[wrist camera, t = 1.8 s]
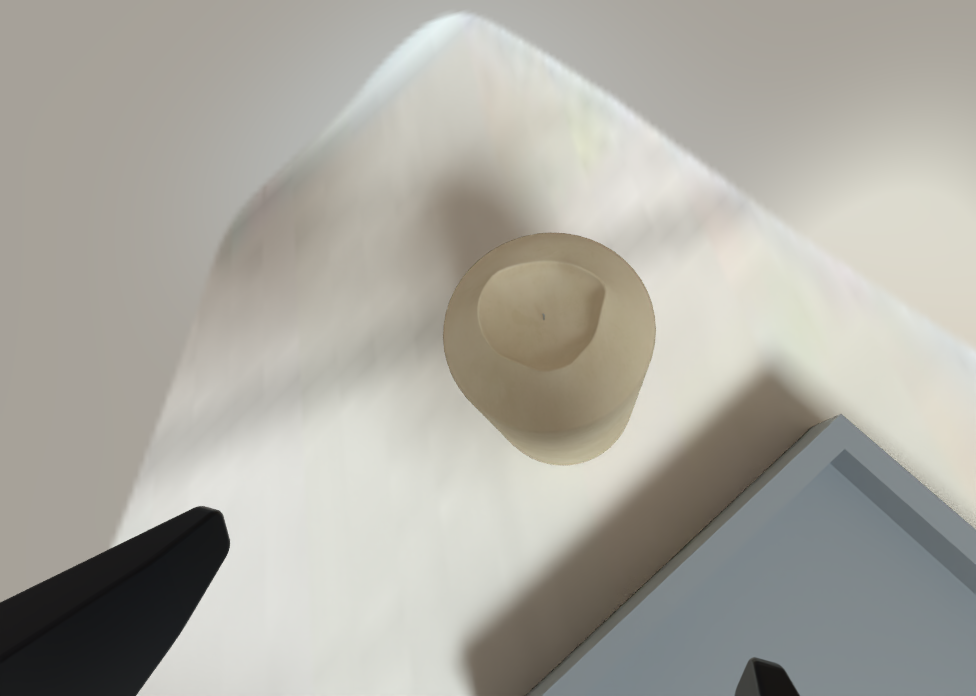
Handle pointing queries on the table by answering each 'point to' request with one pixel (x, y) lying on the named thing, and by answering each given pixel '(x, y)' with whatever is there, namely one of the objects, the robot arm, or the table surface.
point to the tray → (802, 589)
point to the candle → (551, 344)
